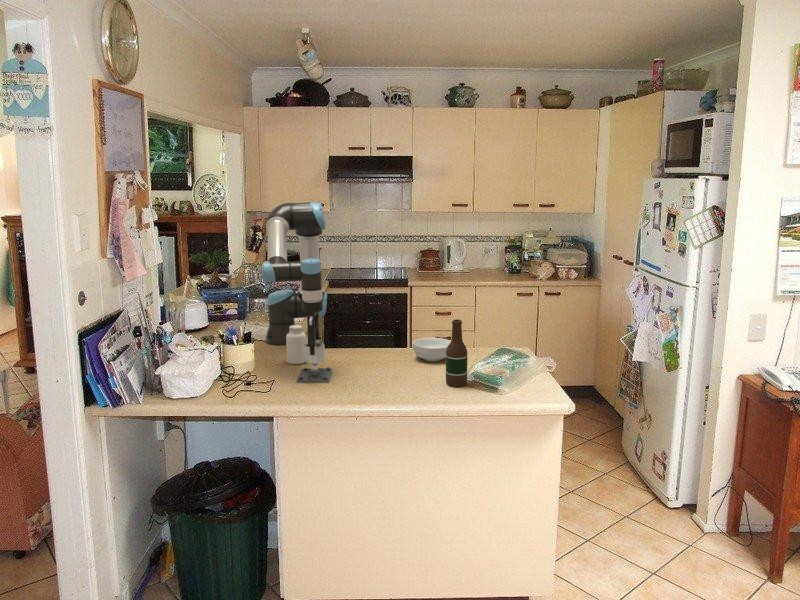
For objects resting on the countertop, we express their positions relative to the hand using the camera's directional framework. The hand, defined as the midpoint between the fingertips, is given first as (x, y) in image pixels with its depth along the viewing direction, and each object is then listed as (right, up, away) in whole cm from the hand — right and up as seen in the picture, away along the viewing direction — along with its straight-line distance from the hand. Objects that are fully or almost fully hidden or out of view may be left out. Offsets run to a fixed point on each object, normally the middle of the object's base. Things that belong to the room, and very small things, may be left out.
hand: (314, 359), depth 240 cm
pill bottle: (-10, -3, +20) cm, 23 cm away
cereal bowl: (+46, -2, +23) cm, 52 cm away
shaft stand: (0, -7, +1) cm, 7 cm away
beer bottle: (+53, -8, -9) cm, 54 cm away
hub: (0, 0, 0) cm, 0 cm away
